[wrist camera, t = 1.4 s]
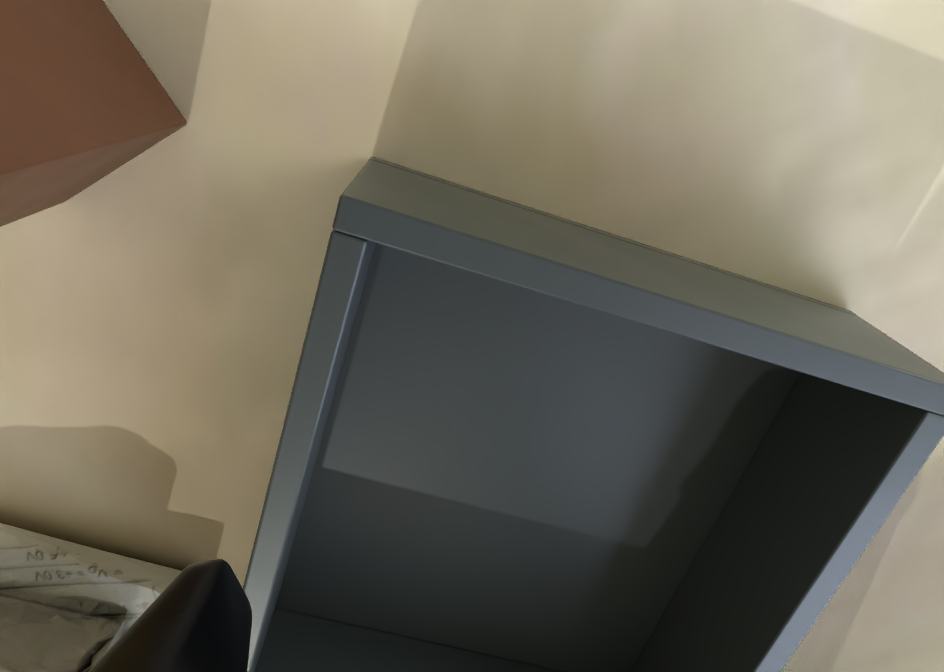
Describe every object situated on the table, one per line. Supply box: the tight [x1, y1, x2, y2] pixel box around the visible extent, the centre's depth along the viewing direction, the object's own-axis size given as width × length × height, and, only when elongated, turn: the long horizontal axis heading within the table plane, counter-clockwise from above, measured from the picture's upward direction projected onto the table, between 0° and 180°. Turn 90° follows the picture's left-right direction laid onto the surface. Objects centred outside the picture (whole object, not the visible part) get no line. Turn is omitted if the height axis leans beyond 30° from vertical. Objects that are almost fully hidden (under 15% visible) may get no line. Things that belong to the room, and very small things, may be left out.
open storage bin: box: [243, 157, 944, 672], centre depth 21 cm, size 18×16×6 cm
